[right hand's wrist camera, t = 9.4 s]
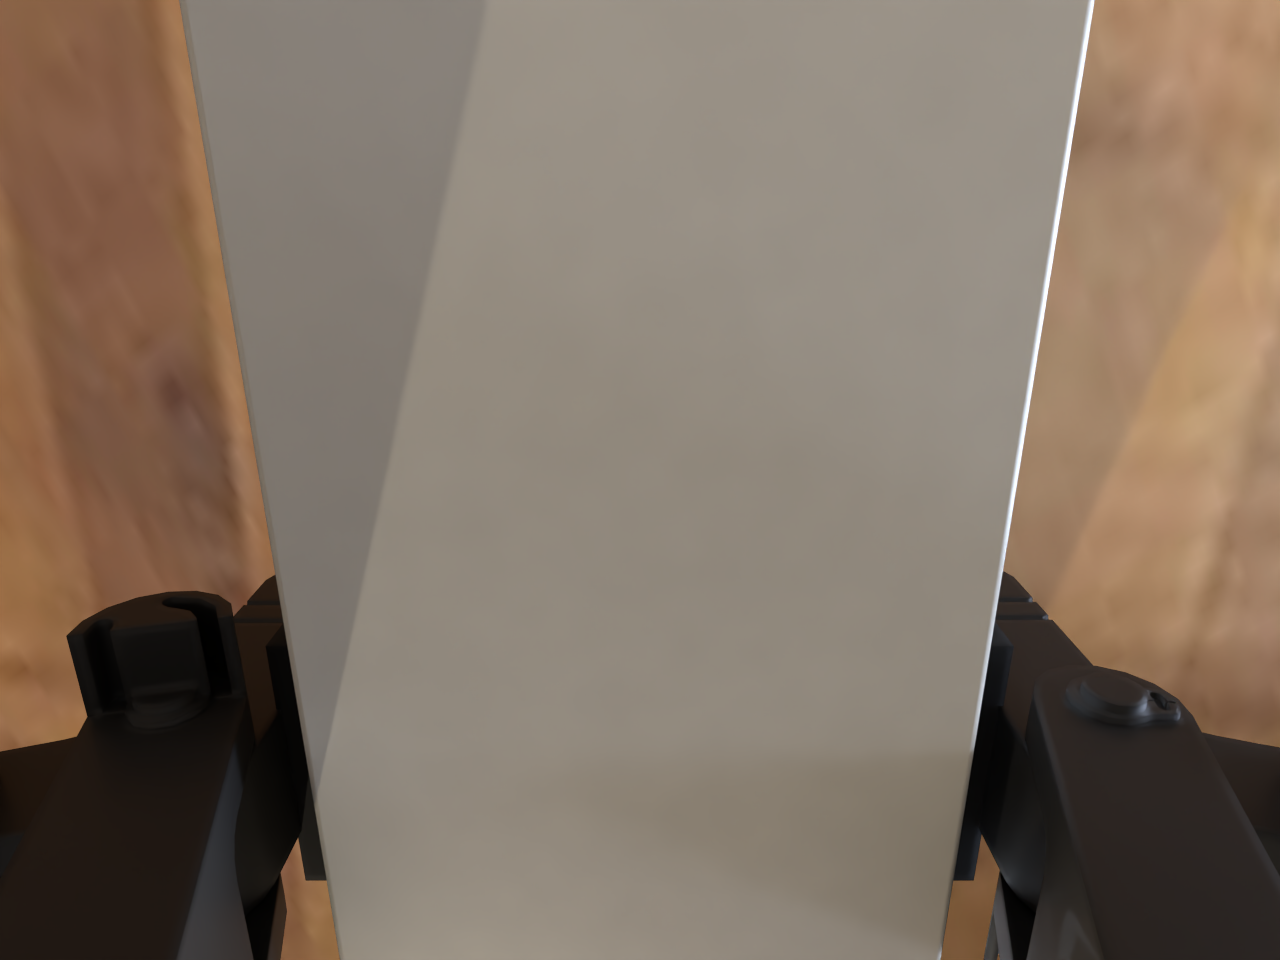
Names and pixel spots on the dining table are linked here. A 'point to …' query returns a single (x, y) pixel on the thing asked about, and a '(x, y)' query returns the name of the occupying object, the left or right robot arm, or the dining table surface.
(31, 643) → the dining table surface
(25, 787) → the right robot arm
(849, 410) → the bar
